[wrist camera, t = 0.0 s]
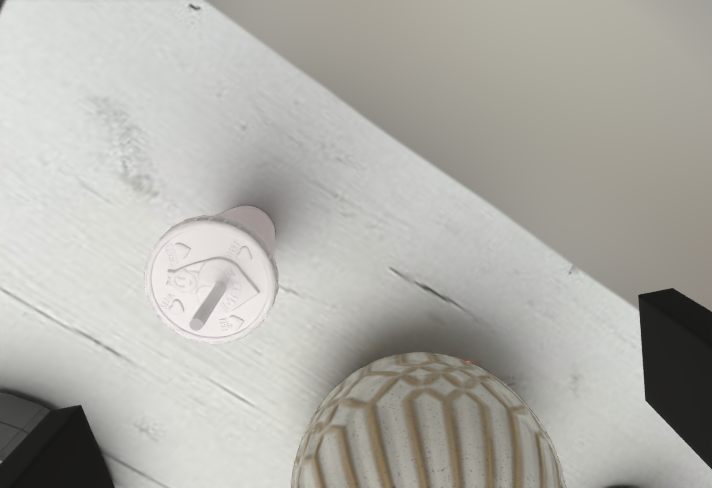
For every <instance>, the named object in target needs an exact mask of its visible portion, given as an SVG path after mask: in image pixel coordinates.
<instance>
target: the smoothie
mask: <svg viewBox="0 0 712 488" xmlns="http://www.w3.org/2000/svg"><path fill="white" fill-rule="evenodd" d="M274 252H275V227H274V224H273V222H272V220H271V219H270V217H269V216H268V215H267V214H266V213H265V212H264V211H262V210H260V209H259V208H256V207H253V206H238V207H235V208H233V209H230V210H228V211H225V212H222V213H220V214H217V215H215V216H204V215H203V216H199V217H194V218H190V219H186V220H184V221H182V222H180V223H178V224H177V225H175V226H173V227H171V228H170V229H169V230H168V231H167V232H166V233H165V234H164V235H163V236H162V237H161V238H160V239H159V241H158V242H157V243H156V244H155V245H154V247H153V249H152V250H151V252H150V254H149V256H148V259H147V262H146V266H145V272H144V283H145V290H146V294H147V297H148V300H149V302H150V304H151V306H152V308H153V310H154V311H155V313H156V314H157V315H158V317H159V318H160V319H161V320H162V321H163V322H164V323H165V324H166V325H167V326H168V327H169V328H171V329H172V330H173V331H175V332H176V333H178V334H180V335H182V336H184V337H186V338H188V339H191V340H194V341H198V342H203V343H226V342H231V341H234V340H237V339H240V338H242V337H244V336H246V335H248V334H249V333H251V332H252V331H254V330H255V329H256V328H257V327H258V326H259V325H260V324H261V323H262V322H263V321H264V319H265V318H266V317H267V315H268V313H269V311H270V309H271V308H272V306H273V304H274V302H275V298H276V295H277V292H278V270H277V266H276V262H275V259H274Z"/></svg>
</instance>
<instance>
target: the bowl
mask: <svg viewBox="0 0 712 488" xmlns="http://www.w3.org/2000/svg"><path fill="white" fill-rule="evenodd" d="M49 412H50V410H49V409H48V408H46V407H44V406H42V405H39V404H36V403H34V402H31V401H28V400H25V399H22V398H20V397H17V396H14V395H11V394H7V393H0V464H1V463H2V462H3V461H4V460H5V458H6V457H7V456H8V455H9V454H10V453H11V452H12V451H13V450H14V449H15V448H16V447H17V446H18V445H19V444H20V443H21V441H22V440H23V439H24V438H25V437H26V436H27V435H28V434H29V433H30V432H31V431H32V430H33V429H34V428H35V427H36V426H37V424H38V423H39V422H40V421H41V420H42V419H43V418H44V417H45V416H46V415H47V414H48V413H49Z"/></svg>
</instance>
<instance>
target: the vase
mask: <svg viewBox="0 0 712 488" xmlns="http://www.w3.org/2000/svg"><path fill="white" fill-rule="evenodd" d="M291 488H566V485H565V480H564V476H563V472H562V468H561V465H560V462H559V459H558V456H557V454H556V451H555V448H554V446H553V444H552V442H551V439H550V438H549V436H548V434H547V432H546V431H545V429H544V428H543V426H542V424H541V423H540V421H539V420H538V418H537V417H536V416H535V414H534V413H533V412H532V411H531V409H530V408H529V407H528V406H527V405H526V404H525V402H524V401H523V400H522V399H521V398H520V397H519V396H518V395H517V394H516V393H515V392H514V391H513V390H512V389H511V388H510V387H509V386H508V385H506V384H505V383H504V382H503V381H502V380H500V379H499V378H497V377H496V376H494V375H493V374H491V373H489V372H488V371H486V370H484V369H482V368H481V367H479V366H477V365H474V364H472V363H470V362H467V361H465V360H462V359H459V358H455V357H452V356H448V355H444V354H438V353H429V352H412V353H403V354H397V355H392V356H388V357H385V358H382V359H379V360H376V361H374V362H372V363H369V364H367V365H365V366H364V367H362V368H360V369H358V370H357V371H355V372H354V373H352V374H351V375H349V376H348V377H347V378H346V379H344V380H343V381H342V382H341V383H339V384H338V385H337V386H336V387H335V388H334V389H333V390H332V391H331V392H330V393H329V394H328V396H327V397H326V398H325V399H324V401H323V402H322V403H321V404H320V405H319V407H318V408H317V410H316V411H315V413H314V414H313V416H312V418H311V420H310V422H309V424H308V426H307V428H306V430H305V433H304V435H303V437H302V440H301V443H300V445H299V448H298V451H297V454H296V458H295V462H294V467H293V472H292V478H291Z"/></svg>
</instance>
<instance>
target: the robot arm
mask: <svg viewBox="0 0 712 488" xmlns="http://www.w3.org/2000/svg"><path fill="white" fill-rule="evenodd" d="M638 297H639V312H640V327H641V341H642V356H643V370H644V385H645V400H646V401H647V402H648V403H649V405H650V406H651V407H652V408H653V409H654V410H655V411H656V412H657V413H658V414H659V415H660V416H661V417H662V418H663V419H664V420H665V421H666V422H667V423H668V424H669V425H670V426H671V427H672V428H673V429H674V430H675V432H676V433H677V434H678V435H679V436H680V437H681V438H682V439H683V440H684V441H685V442H686V443H687V444H688V445H689V446H690V447H691V448H692V449H693V450H694V451H695V452H696V453H697V454H698V455H699V456H700V458H701V459H702V460H703V461H704V462H705V463H706V464H707V465H708V466H709V467H710V468H711V469H712V312H711V311H710V310H708V309H706V308H705V307H703V306H701V305H700V304H698V303H696V302H695V301H693V300H691V299H690V298H688V297H686V296H685V295H683V294H681V293H680V292H678V291H676V290H675V289H673V288H671V289H666V290H661V291H656V292H651V293H646V294H640V295H638ZM0 488H114V485H113V483H112V480H111V478H110V475H109V473H108V470H107V468H106V465H105V463H104V461H103V458H102V456H101V453H100V451H99V448H98V446H97V443H96V441H95V438H94V436H93V433H92V431H91V428H90V426H89V424H88V421H87V419H86V416H85V414H84V411H83V409H82V406H81V405H78V406H73V407H68V408H63V409H58V410H53V411H50V412H49V413H48V414H47V415H46V416H45V417H44V418H43V419H42V420H41V421H40V422H39V423H38V424H37V426H36V427H35V428H34V429H33V430H32V431H31V432H30V433H29V434H28V435H27V436H26V437H25V438H24V439H23V440H22V441H21V443H20V444H19V445H18V446H17V447H16V448H15V449H14V450H13V451H12V452H11V453H10V454H9V455H8V456H7V457H6V458H5V460H4V461H3V462H2V463H1V464H0Z"/></svg>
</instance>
